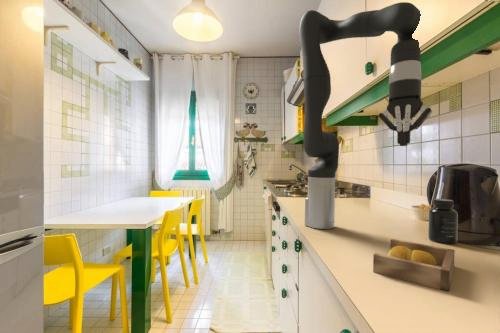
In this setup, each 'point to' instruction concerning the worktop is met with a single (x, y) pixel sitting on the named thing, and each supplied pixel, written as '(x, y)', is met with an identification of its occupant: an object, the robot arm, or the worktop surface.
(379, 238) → the worktop surface
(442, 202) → the supplement bottle
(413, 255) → the bread roll
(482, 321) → the worktop surface
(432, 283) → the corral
